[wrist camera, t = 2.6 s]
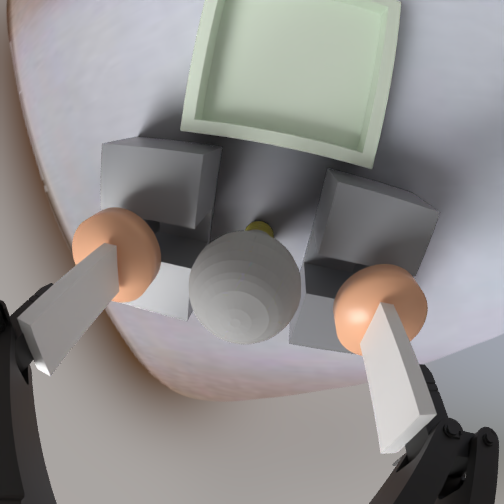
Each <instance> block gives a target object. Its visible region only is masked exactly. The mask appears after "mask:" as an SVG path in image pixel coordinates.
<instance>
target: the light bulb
mask: <svg viewBox="0 0 504 504" xmlns="http://www.w3.org/2000/svg"><path fill="white" fill-rule="evenodd" d="M189 298H190V302H191V306H192V309H193V311H194V314H195V315H196V317H197V319H198V320H199V322H200V323H201V324H202V325H203V326H204V327H205V328H206V329H207V330H208V331H209V332H210V333H212V334H213V335H215V336H216V337H218V338H220V339H222V340H224V341H227V342H231V343H235V344H254V343H258V342H262V341H265V340H268V339H270V338H272V337H274V336H275V335H277V334H278V333H279V332H280V331H282V330H283V329H284V328H285V327H286V326H287V325H288V324H289V322H290V321H291V319H292V318H293V316H294V314H295V313H296V311H297V309H298V306H299V303H300V299H301V276H300V272H299V269H298V267H297V265H296V263H295V261H294V259H293V257H292V255H291V254H290V252H289V251H288V250H287V249H286V248H285V246H283V245H282V244H281V243H280V242H279V241H277V240H276V239H274V234H273V231H272V229H271V227H270V226H269V225H268V224H266V223H265V222H262V221H255V222H252V223H250V224H249V225H248V226H247V227H246V229H245V231H235V232H230V233H227V234H225V235H223V236H221V237H219V238H217V239H216V240H214V241H212V242H211V243H210V244H208V245H207V246H206V247H205V248H204V249H203V250H202V251H201V253H200V254H199V256H198V257H197V259H196V261H195V263H194V265H193V267H192V269H191V272H190V275H189Z"/></svg>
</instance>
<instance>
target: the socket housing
mask: <svg viewBox="0 0 504 504" xmlns="http://www.w3.org/2000/svg"><path fill="white" fill-rule="evenodd" d="M221 153H222V147H220V146H213V145H207V144H199V143H192V142H184V141H176V140H167V139H157V138H146V137H133V138H127V139H122V140H117V141H112V142H108V143H103V144H102V153H101V182H100V208H101V210H104V209H106V208H111V207H118V208H124V209H127V210H129V211H132V212H133V213H135V214H137V215H138V216H139V217H141V218H143V219H148V220H153V221H158V222H159V224H160V229H159V231H158V232H157V233H156V234H155V236H156V238H157V241H158V243H159V247H160V251H161V266H160V270H159V272H158V274H157V276H156V278H155V279H154V280H153V282H152V283H151V284H150V285H149V287H148V288H147V289H146V291H145V292H144V293H143V294H142V296H140V297H139V298H138V299H136V300H134V301H131V302H121V303H124V304H127V305H130V306H134V307H137V308H141V309H144V310H147V311H151V312H154V313H158V314H161V315H165V316H169V317H172V318H176V319H180V320H184V321H188V319H189V317H190V315H191V313H192V311H193V309H192V306H191V302H190V298H189V275H190V272H191V269H192V267H193V265H194V263H195V261H196V259H197V257H198V256H199V254H200V253H201V251H202V250H203V249H204V248H205V247H206V246H207V245H208V244H209V240H210V232H211V224H212V216H213V208H214V201H215V194H216V187H217V180H218V173H219V166H220V159H221ZM439 214H440V212H439V211H437V210H436V209H435V208H433V207H432V206H431V205H429V204H428V203H426V202H425V201H424V200H422V199H421V198H419V197H418V196H416V195H415V194H414V193H412V192H409V191H406V190H403V189H400V188H396V187H393V186H390V185H387V184H384V183H380V182H377V181H373V180H370V179H367V178H363V177H359V176H356V175H352V174H348V173H345V172H341V171H337V170H333V169H329V168H327V172H326V176H325V180H324V184H323V188H322V192H321V196H320V200H319V204H318V208H317V212H316V216H315V220H314V223H313V227H312V231H311V235H310V238H309V242H308V246H307V249H306V253H305V257H304V260H303V264H302V267H301V271H300V276H301V299H300V303H299V306H298V309H297V311H296V313H295V314H294V316H293V318H292V319H291V321H290V329H289V344H293V345H299V346H305V347H311V348H317V349H323V350H330V351H337V352H344V353H351V354H355V353H353V352H350V351H349V350H347V349H346V348H345V347H344V346H343V345H342V344H341V343H340V341H339V339H338V336H337V332H336V326H335V320H334V314H333V304H334V300H335V297H336V294H337V292H338V290H339V289H340V287H341V286H342V285H343V283H344V282H345V281H346V280H347V279H348V278H349V277H351V276H352V275H353V268H354V266H355V264H356V263H358V264H362V265H367V266H373V265H378V264H391V265H396V266H399V267H401V268H403V269H405V270H407V271H408V272H409V273H410V274H411V275H412V276H416V273H417V271H418V269H419V266H420V264H421V262H422V259H423V257H424V254H425V252H426V249H427V247H428V244H429V242H430V239H431V236H432V234H433V231H434V228H435V226H436V223H437V220H438V217H439Z"/></svg>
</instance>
